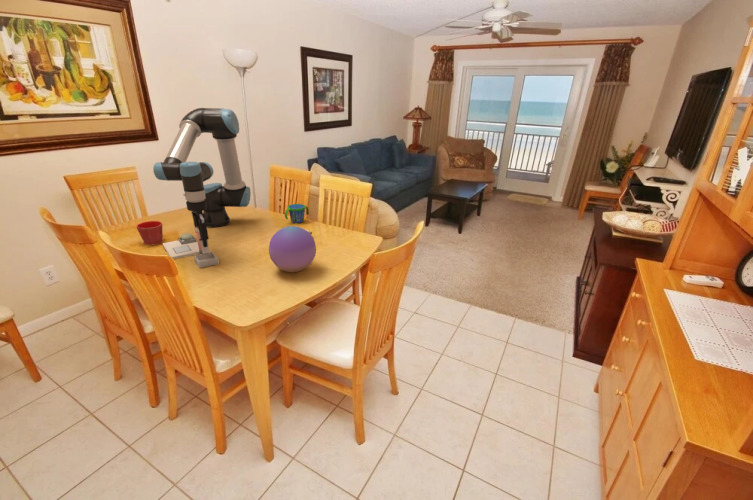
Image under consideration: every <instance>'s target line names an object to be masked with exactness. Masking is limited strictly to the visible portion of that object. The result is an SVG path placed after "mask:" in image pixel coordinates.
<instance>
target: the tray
mask: <svg viewBox="0 0 753 500" xmlns="http://www.w3.org/2000/svg"><path fill="white" fill-rule="evenodd" d="M193 257H194V262H195V265H197V266H198V269H203V268H207V267H211V266H217V265H219V264H220V263H219V257H218V256H217V255H216V254H215V253H214V252H213V251H210V253H208V254H197V255H193Z"/></svg>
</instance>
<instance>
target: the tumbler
mask: <svg viewBox="0 0 753 500" xmlns="http://www.w3.org/2000/svg"><path fill="white" fill-rule="evenodd" d="M195 231H196V232H195ZM194 232H195V235H196V241H197V243H198V247H199V253H200V254H203V253H202V247H201V241H199V239H201V237H200V233H199V228H198V226H196V227H195V226H194ZM207 240H209V239H207ZM208 246H209V244H208ZM209 252H211V251H210V250H209ZM200 254H199V255H200ZM206 254H208V253H206Z"/></svg>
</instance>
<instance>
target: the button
mask: <svg viewBox="0 0 753 500" xmlns="http://www.w3.org/2000/svg"><path fill="white" fill-rule="evenodd" d="M192 235H193V234H192V233H190V232H189V233H187V232H186V233H183V234H181V235H180V237H181V239H182V240H190V239H192V238H193V237H192Z"/></svg>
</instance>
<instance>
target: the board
mask: <svg viewBox="0 0 753 500" xmlns="http://www.w3.org/2000/svg"><path fill="white" fill-rule="evenodd" d="M192 237H193V238H192V239H190V240H182V239H181V236H180V237H178V239H177V240H174V241H169V242H163V243H162V245H163V248H164V250H165V251H166V253H167V254H168V256H169V257H170V256H171V257H172V258H173V260H177V259H181V258H185V257H191V256H196V255H200V253H199V247H198V241H197V238H195V236H194V235H193V234H192Z"/></svg>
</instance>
